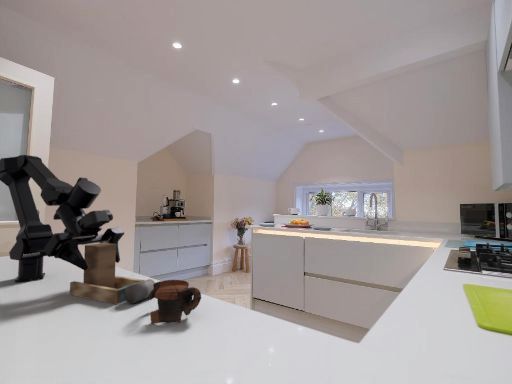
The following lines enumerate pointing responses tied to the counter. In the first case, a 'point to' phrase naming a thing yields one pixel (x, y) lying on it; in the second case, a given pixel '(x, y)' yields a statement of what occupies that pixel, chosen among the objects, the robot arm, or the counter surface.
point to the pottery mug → (173, 300)
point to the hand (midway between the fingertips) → (103, 265)
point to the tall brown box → (100, 264)
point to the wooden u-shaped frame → (115, 290)
